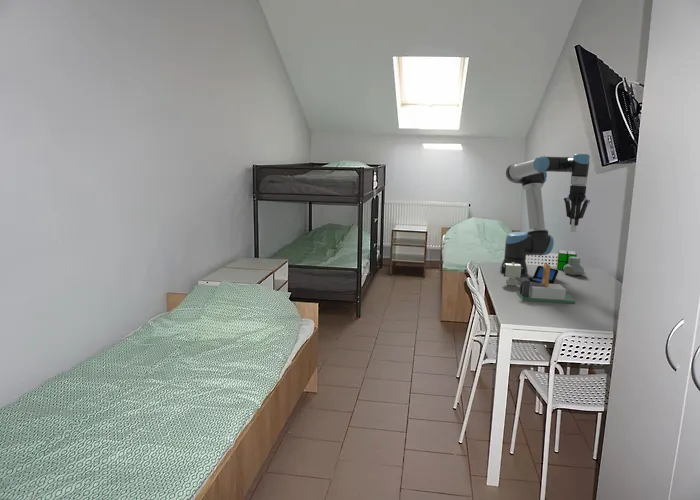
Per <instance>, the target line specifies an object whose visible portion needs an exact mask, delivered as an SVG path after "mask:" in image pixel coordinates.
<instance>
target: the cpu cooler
mask: <svg viewBox="0 0 700 500" xmlns="http://www.w3.org/2000/svg"><path fill="white" fill-rule="evenodd" d="M520 282H523V285H519V291H516V295H517V296H518V297H519V298H520V300H521V299H522V300H526V302H538V301H540V302H542V303H543V302H544V303H559V304H561V303H562V304H576V300H575V299H573V298H572V296H570V295H569V294H567V289H566V288H565V287H564V286H562V285H561V284H560V283H559V284H558V283H554V284H548V287H545V286H535V285H530V282H531V281H530V280H529V279H528V277H522V278H520ZM522 300H521V301H522Z"/></svg>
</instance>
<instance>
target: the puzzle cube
mask: <svg viewBox="0 0 700 500" xmlns="http://www.w3.org/2000/svg"><path fill="white" fill-rule="evenodd" d="M569 257H578V255H577V251H572V250H571V251H569V250H560V249H559V250H558V252H557V259H556V269H557V270H561V269H563V268H564V266H565V265H567V264H569Z"/></svg>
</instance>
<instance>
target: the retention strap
mask: <svg viewBox="0 0 700 500" xmlns="http://www.w3.org/2000/svg"><path fill="white" fill-rule="evenodd" d="M543 267H544V268H543V278H542V283H537V282H531V281H530V285H535V286H545V287H548V283H549V274H550V268H551V265H550V264H549V263H543ZM515 285H518V286H520V285H523V282H521V281H518V280H517V281H516V284H515Z"/></svg>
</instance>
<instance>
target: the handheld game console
mask: <svg viewBox="0 0 700 500" xmlns="http://www.w3.org/2000/svg"><path fill="white" fill-rule="evenodd" d="M543 268H544V265H543V266H541V265H538V266H537V267H536V270H535V272H534V275H532V277H529V278H528V277H527V278H528V279H529V280H530V282H537V283H542V278H543ZM558 273H559V269H557V268H551V267H550V274H549V283H548V284H555V281H556V278H557V276H558Z"/></svg>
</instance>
